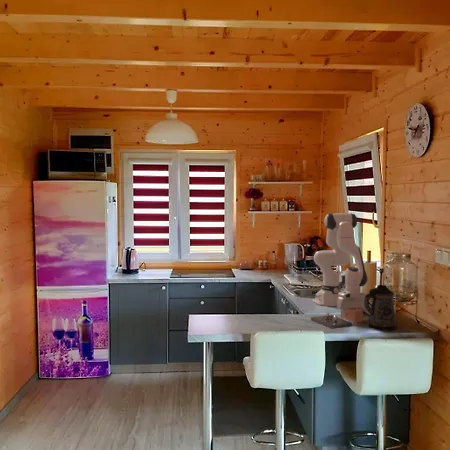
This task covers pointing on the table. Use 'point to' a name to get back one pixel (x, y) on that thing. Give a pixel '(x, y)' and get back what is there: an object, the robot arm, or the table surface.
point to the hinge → (366, 309)
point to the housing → (353, 315)
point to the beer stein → (381, 309)
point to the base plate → (331, 321)
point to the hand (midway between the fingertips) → (351, 315)
